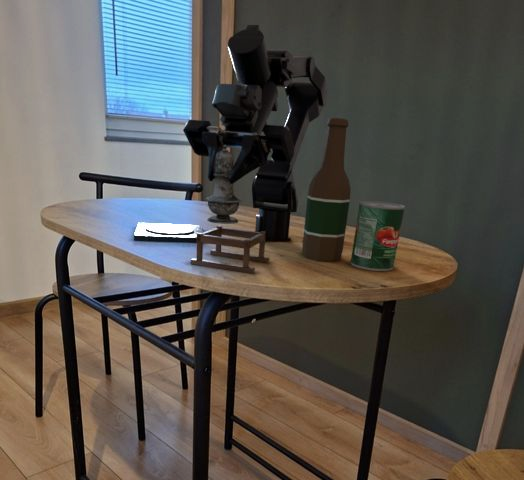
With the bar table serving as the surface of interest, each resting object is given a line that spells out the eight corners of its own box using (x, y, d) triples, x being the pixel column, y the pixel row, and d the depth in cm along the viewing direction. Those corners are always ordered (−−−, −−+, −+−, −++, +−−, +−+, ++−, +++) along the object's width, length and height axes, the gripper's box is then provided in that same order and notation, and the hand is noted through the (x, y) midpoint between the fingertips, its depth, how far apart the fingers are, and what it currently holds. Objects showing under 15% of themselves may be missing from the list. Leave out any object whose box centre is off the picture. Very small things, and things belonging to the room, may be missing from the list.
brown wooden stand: (212, 253, 87) (213, 224, 85) (269, 261, 84) (271, 232, 82) (190, 264, 79) (190, 232, 77) (252, 273, 76) (254, 241, 74)
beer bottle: (343, 255, 93) (362, 121, 84) (338, 263, 86) (359, 118, 77) (305, 250, 95) (319, 118, 85) (297, 258, 88) (312, 115, 78)
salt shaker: (202, 217, 82) (203, 142, 77) (235, 217, 84) (238, 144, 79) (209, 224, 77) (210, 144, 72) (244, 224, 79) (247, 146, 74)
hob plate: (201, 229, 107) (201, 224, 107) (205, 242, 95) (205, 236, 94) (138, 227, 105) (137, 221, 104) (133, 240, 92) (133, 233, 92)
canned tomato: (354, 258, 92) (363, 199, 87) (395, 264, 89) (407, 204, 85) (346, 266, 85) (355, 203, 80) (390, 273, 82) (402, 209, 78)
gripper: (189, 65, 77) (149, 137, 73) (294, 66, 70) (258, 147, 66) (212, 120, 87) (179, 187, 83) (307, 126, 80) (276, 200, 76)
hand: (219, 180), depth 76 cm, fingers closed on salt shaker, 3 cm apart
